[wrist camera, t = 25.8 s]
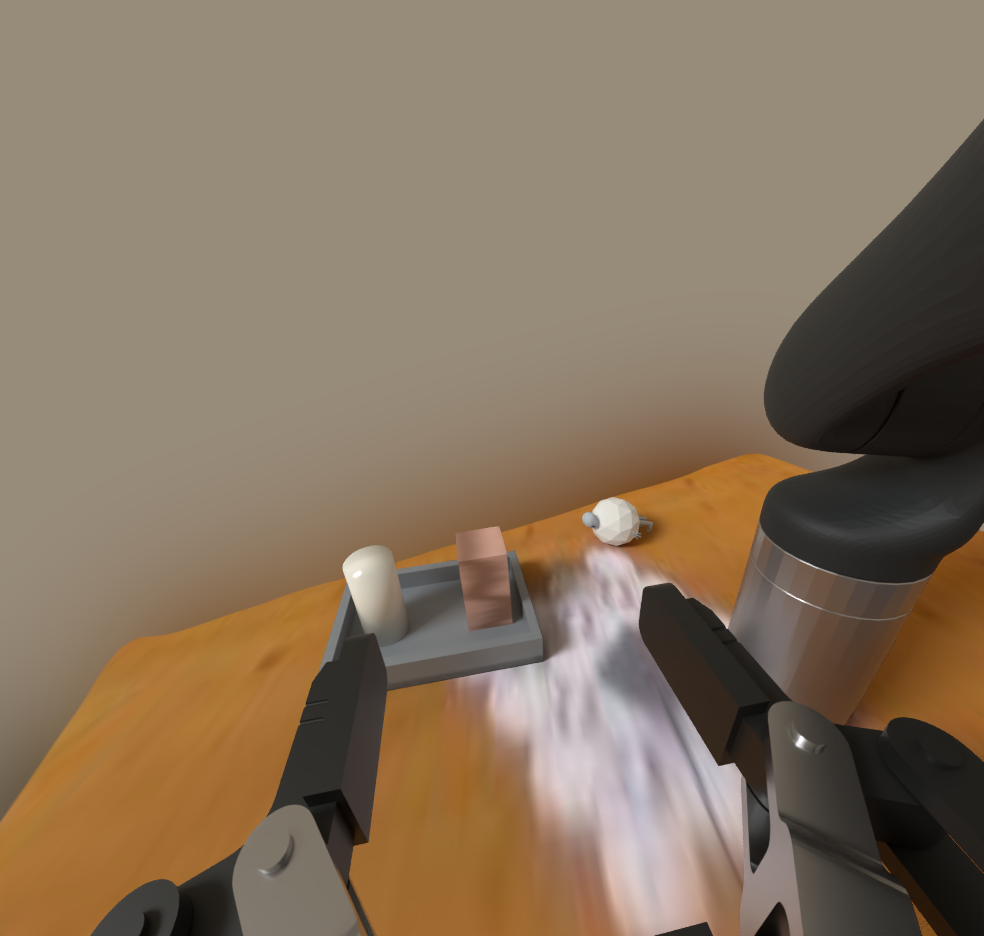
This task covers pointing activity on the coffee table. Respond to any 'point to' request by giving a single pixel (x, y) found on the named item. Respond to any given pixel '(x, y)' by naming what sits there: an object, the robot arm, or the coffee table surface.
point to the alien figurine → (615, 521)
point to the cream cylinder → (377, 593)
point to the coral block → (484, 578)
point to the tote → (446, 629)
